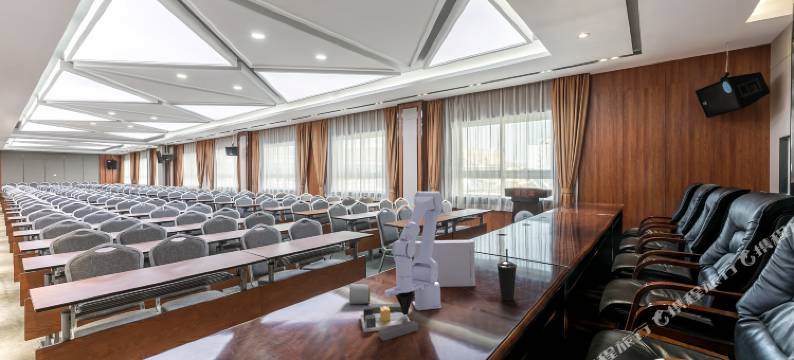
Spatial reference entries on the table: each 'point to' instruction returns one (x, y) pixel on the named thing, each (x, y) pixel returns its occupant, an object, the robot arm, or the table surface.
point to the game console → (453, 262)
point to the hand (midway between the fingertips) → (405, 313)
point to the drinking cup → (507, 278)
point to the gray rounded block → (359, 294)
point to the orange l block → (384, 313)
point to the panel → (374, 321)
